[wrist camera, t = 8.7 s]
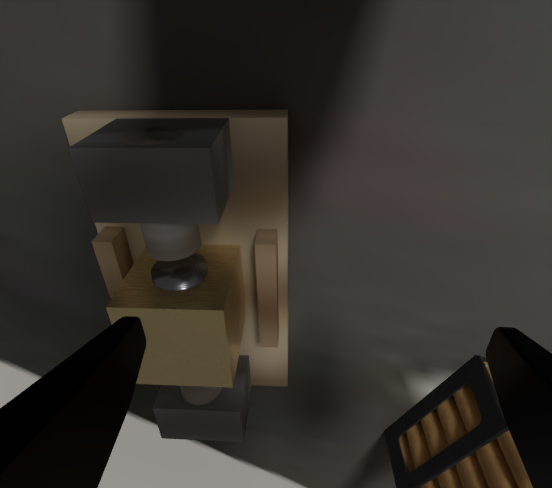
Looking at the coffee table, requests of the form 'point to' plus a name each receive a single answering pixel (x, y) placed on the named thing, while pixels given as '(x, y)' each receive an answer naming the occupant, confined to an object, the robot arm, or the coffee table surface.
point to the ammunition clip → (456, 437)
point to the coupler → (187, 315)
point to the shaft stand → (195, 229)
